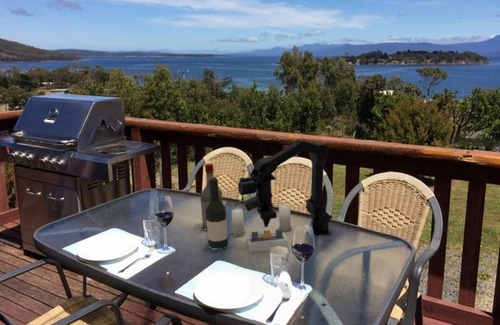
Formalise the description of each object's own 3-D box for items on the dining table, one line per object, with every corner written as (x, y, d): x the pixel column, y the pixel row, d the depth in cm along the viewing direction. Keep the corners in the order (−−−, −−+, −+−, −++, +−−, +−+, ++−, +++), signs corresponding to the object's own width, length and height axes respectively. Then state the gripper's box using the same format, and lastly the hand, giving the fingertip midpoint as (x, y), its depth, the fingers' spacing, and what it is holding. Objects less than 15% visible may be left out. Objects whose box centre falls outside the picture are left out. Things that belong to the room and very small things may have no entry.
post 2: (290, 226, 192) (289, 203, 190) (292, 231, 187) (292, 208, 184) (277, 227, 192) (276, 204, 189) (280, 232, 186) (279, 209, 183)
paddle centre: (269, 236, 175) (269, 230, 174) (270, 238, 173) (270, 231, 173) (263, 237, 174) (263, 230, 174) (264, 239, 173) (264, 232, 172)
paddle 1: (257, 238, 174) (257, 231, 173) (258, 239, 173) (258, 232, 172) (251, 238, 174) (251, 232, 173) (252, 240, 172) (251, 233, 172)
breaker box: (284, 238, 180) (283, 231, 179) (288, 248, 171) (288, 240, 170) (246, 242, 178) (246, 235, 177) (249, 252, 169) (249, 244, 169)
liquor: (222, 231, 191) (218, 167, 183) (202, 231, 191) (197, 168, 183) (224, 223, 200) (220, 161, 192) (205, 223, 200) (200, 162, 192)
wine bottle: (204, 248, 175) (198, 179, 167) (215, 240, 182) (210, 173, 174) (221, 252, 171) (216, 181, 163) (232, 243, 178) (227, 175, 170)
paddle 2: (281, 235, 175) (281, 229, 174) (282, 237, 174) (282, 230, 173) (275, 236, 175) (275, 229, 174) (276, 237, 174) (276, 231, 173)
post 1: (244, 230, 190) (243, 207, 187) (245, 236, 184) (244, 212, 182) (231, 232, 189) (230, 209, 187) (232, 237, 184) (231, 213, 181)
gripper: (242, 185, 179) (243, 220, 183) (247, 200, 161) (249, 238, 165) (267, 183, 180) (269, 217, 184) (276, 198, 162) (277, 235, 166)
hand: (265, 226), depth 175 cm, fingers closed
